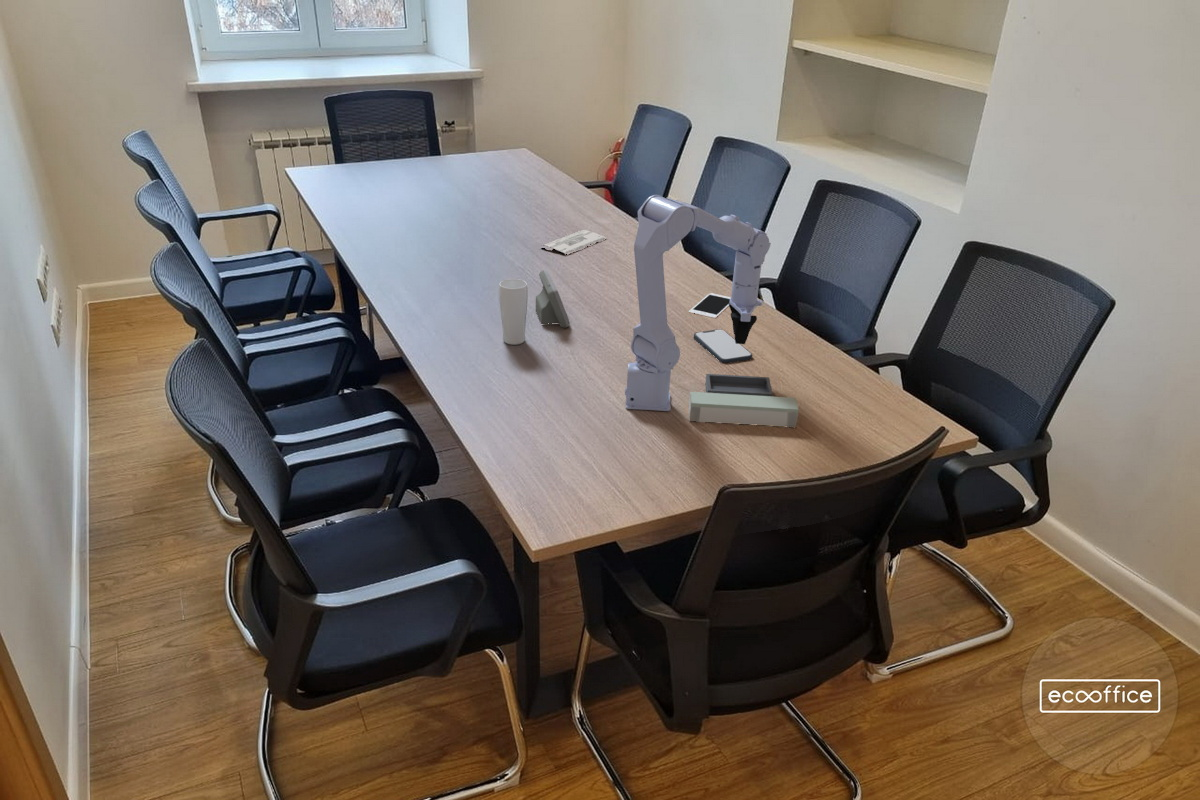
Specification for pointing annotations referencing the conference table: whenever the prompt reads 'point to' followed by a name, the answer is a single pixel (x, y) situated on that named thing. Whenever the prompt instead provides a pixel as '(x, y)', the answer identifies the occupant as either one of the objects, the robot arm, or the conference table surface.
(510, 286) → the drinking glass
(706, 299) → the cell phone
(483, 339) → the conference table surface
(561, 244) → the newspaper
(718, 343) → the smartphone
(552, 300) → the digital clock
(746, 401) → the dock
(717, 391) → the shell tray
